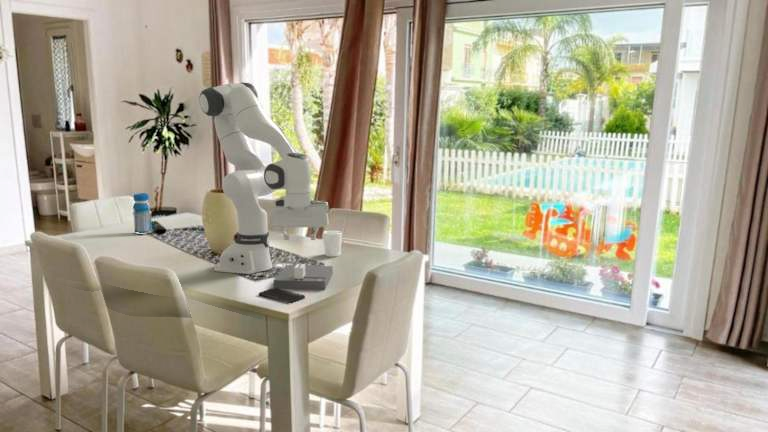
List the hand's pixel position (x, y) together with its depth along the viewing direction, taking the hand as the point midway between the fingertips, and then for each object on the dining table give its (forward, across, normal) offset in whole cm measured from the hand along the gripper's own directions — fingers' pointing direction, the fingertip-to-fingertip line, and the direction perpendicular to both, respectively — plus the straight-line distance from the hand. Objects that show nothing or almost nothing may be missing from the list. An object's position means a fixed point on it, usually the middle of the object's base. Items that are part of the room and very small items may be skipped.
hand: (300, 239), depth 201 cm
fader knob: (+14, 0, 0) cm, 14 cm away
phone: (+18, +4, +12) cm, 22 cm away
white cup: (+17, -5, -45) cm, 49 cm away
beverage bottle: (+15, +95, -80) cm, 125 cm away
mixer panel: (+17, 0, -6) cm, 18 cm away
